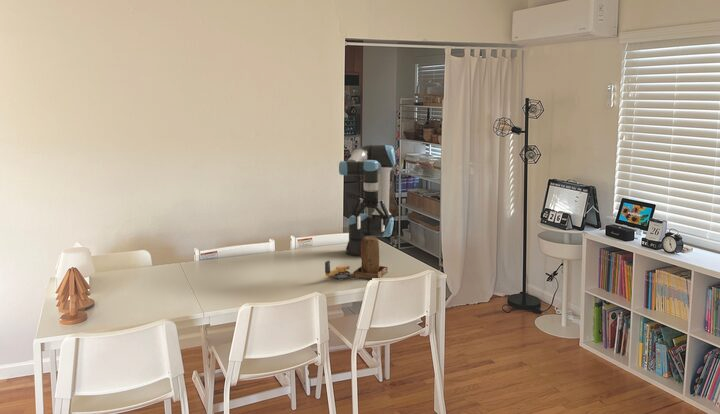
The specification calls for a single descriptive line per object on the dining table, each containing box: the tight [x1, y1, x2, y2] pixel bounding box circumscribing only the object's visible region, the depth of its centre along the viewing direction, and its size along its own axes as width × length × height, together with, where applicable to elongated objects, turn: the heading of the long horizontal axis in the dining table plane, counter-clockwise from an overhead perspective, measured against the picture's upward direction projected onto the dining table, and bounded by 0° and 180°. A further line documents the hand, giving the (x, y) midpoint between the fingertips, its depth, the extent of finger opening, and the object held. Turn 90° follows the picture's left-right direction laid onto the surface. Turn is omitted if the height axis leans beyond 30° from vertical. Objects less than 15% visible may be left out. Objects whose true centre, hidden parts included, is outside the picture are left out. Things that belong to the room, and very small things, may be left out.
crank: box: [324, 260, 351, 277], centre depth 324 cm, size 17×5×8 cm, turn 140°
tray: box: [352, 265, 388, 280], centre depth 330 cm, size 15×14×3 cm
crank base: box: [330, 270, 351, 280], centre depth 327 cm, size 10×10×3 cm
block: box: [360, 236, 380, 274], centre depth 329 cm, size 11×8×20 cm
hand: (370, 229), depth 326 cm, fingers open, 13 cm apart
